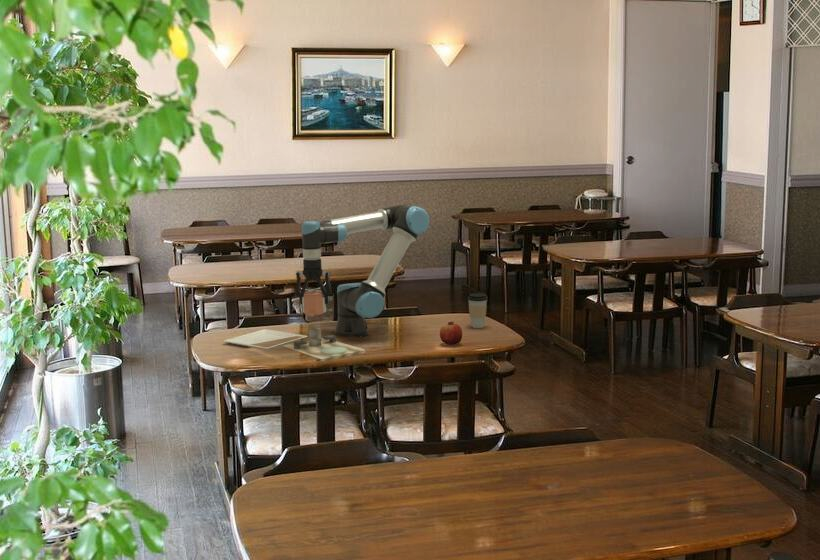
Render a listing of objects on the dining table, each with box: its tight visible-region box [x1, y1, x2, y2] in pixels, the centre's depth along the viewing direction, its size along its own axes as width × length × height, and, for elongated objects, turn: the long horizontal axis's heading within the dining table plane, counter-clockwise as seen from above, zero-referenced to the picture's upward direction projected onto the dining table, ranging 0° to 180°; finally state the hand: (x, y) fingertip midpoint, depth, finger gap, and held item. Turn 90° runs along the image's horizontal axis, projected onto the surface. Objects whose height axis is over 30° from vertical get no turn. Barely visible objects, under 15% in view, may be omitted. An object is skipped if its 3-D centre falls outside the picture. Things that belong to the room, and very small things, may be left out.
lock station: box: [282, 327, 367, 363], centre depth 411 cm, size 22×30×8 cm
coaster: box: [321, 347, 347, 355], centre depth 405 cm, size 11×11×1 cm
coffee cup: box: [467, 292, 489, 329], centre depth 449 cm, size 9×9×15 cm
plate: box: [223, 328, 309, 350], centre depth 429 cm, size 26×26×2 cm
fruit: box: [439, 321, 463, 346], centre depth 417 cm, size 11×10×10 cm
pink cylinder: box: [303, 289, 324, 317], centre depth 413 cm, size 14×8×9 cm, turn 174°
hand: (314, 311), depth 414 cm, fingers closed on pink cylinder, 8 cm apart
